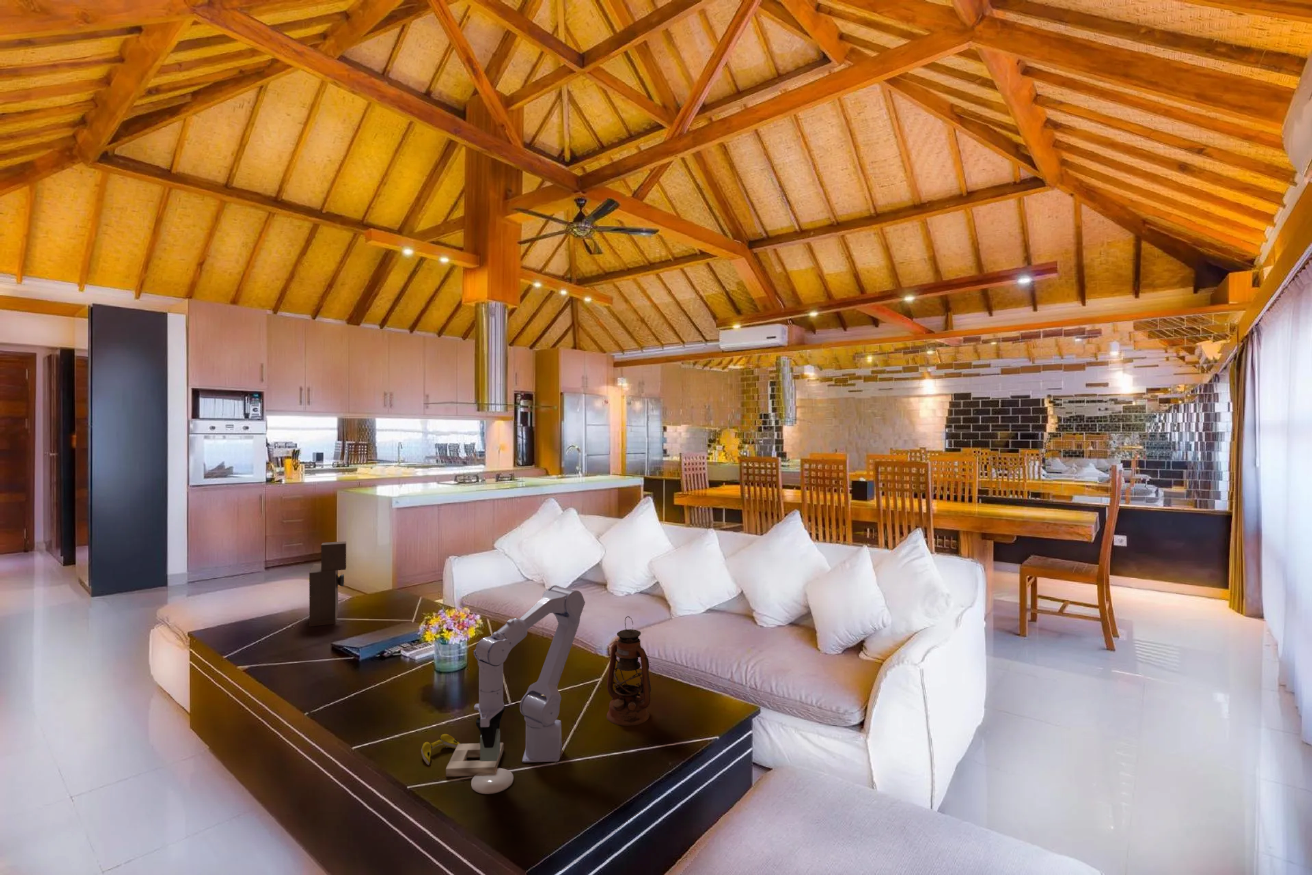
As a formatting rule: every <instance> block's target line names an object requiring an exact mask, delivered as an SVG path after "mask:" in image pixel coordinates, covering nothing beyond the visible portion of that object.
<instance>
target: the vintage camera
mask: <svg viewBox="0 0 1312 875" xmlns="http://www.w3.org/2000/svg"><path fill="white" fill-rule="evenodd" d="M320 551H321V552H320V554H321V555H320V559H321V560H320V563H313V564H312V567H311V569H310V571H309V573H308V578H309V583H308V585H309V586H308V587H309V589H308V593H309V595H308V596H309V597H308V598H309V600H308V603H309V606H308V607H309V608H308V610H309V611H308V612H309V615H308V616H309V617H308V618H309V623H308V627H315V626H324V625H325V626H326V625H332V624H333V625H334V624H337V619H338V615H339V586H340V587H344V586H345V575H344V574H341V575H339V571H345V570H346V569H347V541H333V542H322V543H321V544H320Z"/></svg>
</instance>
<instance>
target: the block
mask: <svg viewBox="0 0 1312 875" xmlns="http://www.w3.org/2000/svg"><path fill="white" fill-rule="evenodd" d="M479 743H480V757H479V761H497V759H498V756H499V754H500V743H501V729H500V728H499V729H497V730H496V736H495V742H494V746H493V748H485V747H484V744H483V740H482V736H481V735H480V738H479Z"/></svg>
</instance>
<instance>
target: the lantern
mask: <svg viewBox="0 0 1312 875" xmlns="http://www.w3.org/2000/svg"><path fill="white" fill-rule="evenodd" d="M627 618H629V619H631V622H632V624H634V622H633V619H632V618H631V617H630V616H629V615H627V616H626V617H625V619H624V621H626V620H627ZM626 624H627V623H626V622H624V626H625V627H624V628H625V629H621V630H620V631H617V633H616V635H617V637H619V638H618V639H617V640H615V641H614V642H613V643H612V645H611V647H610V649H611V651H610V659H609V664H608V666H609V667H608V673H607V679H606V689H607V692H608V694H609V695H610V697H611V700H610V701H609V703H608V704H609V705H608V706H609V707H608V711H607V713H606V719H607V721H609V722H610V723H611V724H614V725H618V726H625V727H631V726H637V725H641V724H643V723H646V721H647V720H648V719H649V718H650V713H649V710H648V707H649V706H650V703H651V691H652V686H651V685H652V684H651V680H650V673H649V670H650V661H649V657H648V655H647V653H646V651H645V650H644V648H643V647H642V645H641V639H640V636H641V635H642V632H641V631H639V630H637V629H634V628H631V629H629V628H627V625H626ZM617 658H618V659H617ZM639 658H640V662H639ZM618 660H619V661H618ZM640 668H641V671H640V672H638V670H639V669H640ZM618 670H619V671H620V675H621V677H622V681H620V680H619V679H618V678H619V677H618V676H617V674H618V672H617V671H618ZM623 671H624V672H634V671H635V674H632V676H630V677H629V678H628V679H625V678H624V674H623ZM638 677H639V678H640V682H638V683H636V684H628V683H627V682H629V681H630V680H633V679H636V678H638ZM614 680H615V681H616V682H615V681H614ZM614 688H615V689H614Z"/></svg>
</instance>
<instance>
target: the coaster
mask: <svg viewBox="0 0 1312 875" xmlns="http://www.w3.org/2000/svg"><path fill="white" fill-rule="evenodd" d="M470 783H471V786H470V787H471V789H472V790H473V791H474V792H476V793H479V794H483V795H492V794H497V793H501V792H503V791H505V790H507V789H508V788H510V787H511V786H512V785H513V783H514V774H513V772H511V770H509V769H505V768H501V767H497V768H496V771H495V773H478V774H477V775H475V776H473V778H472V779H471V781H470Z"/></svg>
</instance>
